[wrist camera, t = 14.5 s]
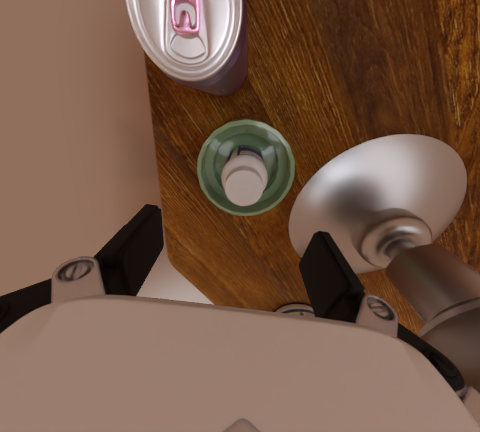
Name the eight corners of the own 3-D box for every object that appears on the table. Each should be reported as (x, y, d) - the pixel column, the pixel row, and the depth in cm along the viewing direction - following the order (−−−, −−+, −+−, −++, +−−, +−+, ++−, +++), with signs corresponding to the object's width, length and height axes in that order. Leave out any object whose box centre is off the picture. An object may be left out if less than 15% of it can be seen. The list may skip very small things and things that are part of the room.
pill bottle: (239, 186, 29) (236, 219, 20) (220, 157, 26) (206, 181, 18) (270, 169, 27) (279, 197, 19) (252, 136, 25) (253, 151, 16)
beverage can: (250, 34, 20) (254, -97, 7) (245, 98, 23) (240, 90, 10) (196, 28, 20) (99, -115, 7) (198, 94, 23) (134, 79, 10)
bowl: (203, 192, 30) (195, 208, 25) (209, 109, 24) (199, 110, 19) (274, 204, 31) (278, 221, 26) (297, 126, 24) (309, 131, 20)
